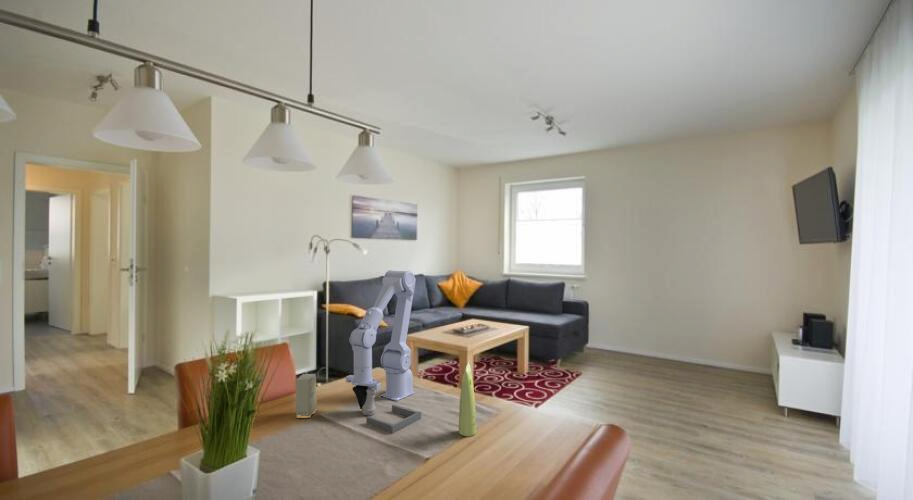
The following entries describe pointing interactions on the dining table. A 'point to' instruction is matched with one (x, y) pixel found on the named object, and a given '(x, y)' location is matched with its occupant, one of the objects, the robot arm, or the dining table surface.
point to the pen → (393, 428)
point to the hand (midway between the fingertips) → (363, 408)
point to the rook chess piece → (369, 402)
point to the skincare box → (306, 394)
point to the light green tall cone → (467, 405)
